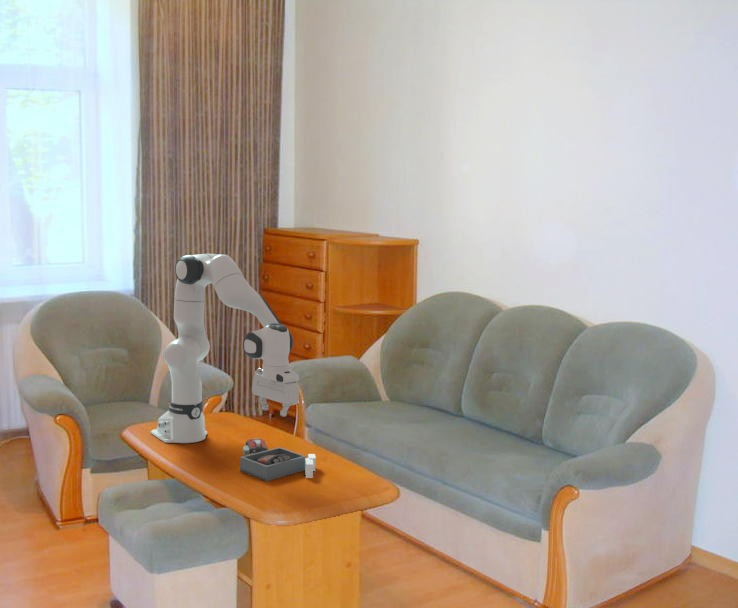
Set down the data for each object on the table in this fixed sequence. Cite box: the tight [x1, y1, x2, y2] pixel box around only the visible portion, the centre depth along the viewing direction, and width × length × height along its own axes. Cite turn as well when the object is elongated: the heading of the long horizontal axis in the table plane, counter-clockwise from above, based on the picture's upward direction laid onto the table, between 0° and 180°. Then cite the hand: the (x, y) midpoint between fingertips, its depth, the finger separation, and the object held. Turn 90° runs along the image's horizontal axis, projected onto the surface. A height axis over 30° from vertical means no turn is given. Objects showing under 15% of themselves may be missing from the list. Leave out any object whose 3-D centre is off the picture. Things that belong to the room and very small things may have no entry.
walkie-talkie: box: [242, 438, 269, 456], centre depth 322 cm, size 9×4×20 cm
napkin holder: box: [304, 453, 317, 479], centre depth 303 cm, size 15×11×6 cm
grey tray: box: [239, 446, 307, 482], centre depth 303 cm, size 14×18×5 cm
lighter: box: [256, 454, 290, 466], centre depth 302 cm, size 8×3×10 cm
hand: (274, 412), depth 301 cm, fingers open, 8 cm apart
